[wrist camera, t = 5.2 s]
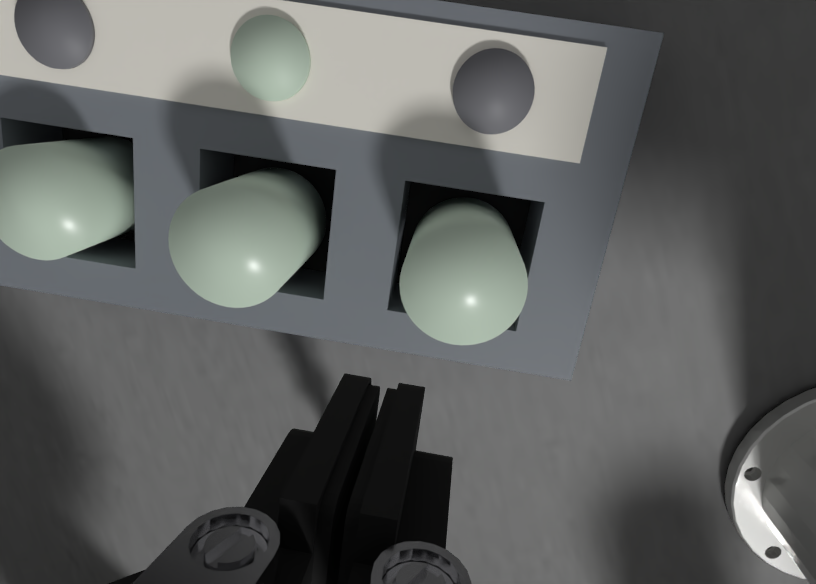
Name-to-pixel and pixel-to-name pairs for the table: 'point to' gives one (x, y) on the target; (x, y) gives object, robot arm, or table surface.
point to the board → (339, 145)
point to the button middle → (246, 235)
